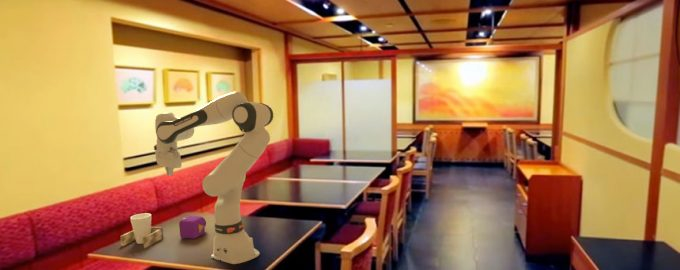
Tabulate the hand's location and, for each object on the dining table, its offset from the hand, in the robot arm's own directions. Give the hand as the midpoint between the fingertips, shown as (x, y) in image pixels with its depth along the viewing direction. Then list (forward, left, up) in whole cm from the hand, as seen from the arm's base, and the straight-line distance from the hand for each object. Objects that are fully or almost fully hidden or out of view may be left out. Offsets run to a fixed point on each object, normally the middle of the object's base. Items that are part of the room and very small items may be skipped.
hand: (170, 175), depth 199 cm
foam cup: (+17, +9, -34) cm, 39 cm away
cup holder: (+17, +10, -34) cm, 39 cm away
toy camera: (+5, -12, -34) cm, 37 cm away
